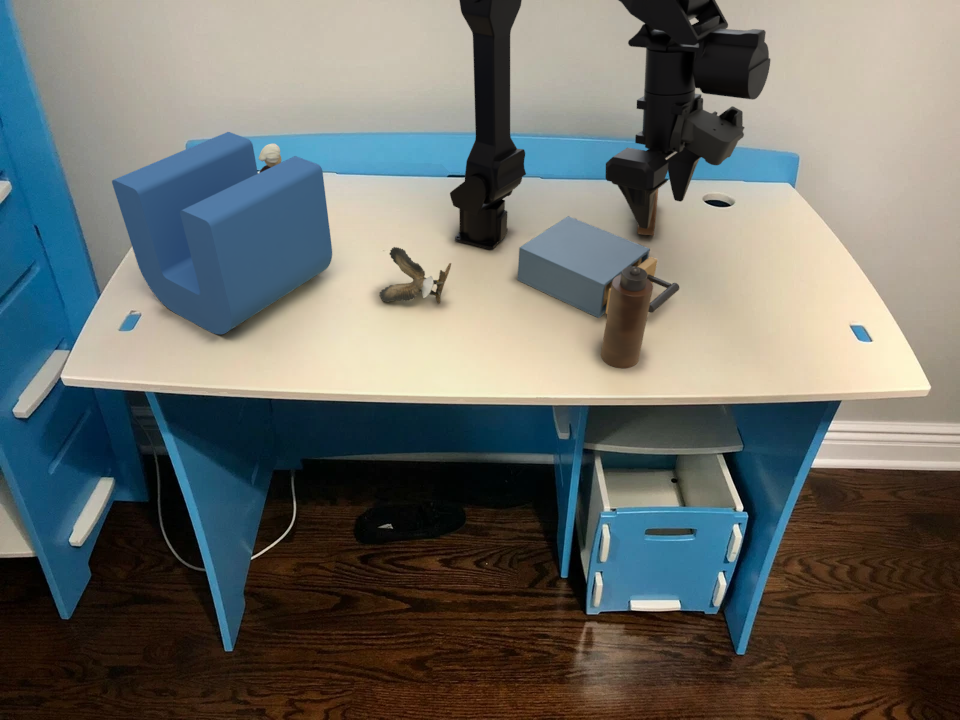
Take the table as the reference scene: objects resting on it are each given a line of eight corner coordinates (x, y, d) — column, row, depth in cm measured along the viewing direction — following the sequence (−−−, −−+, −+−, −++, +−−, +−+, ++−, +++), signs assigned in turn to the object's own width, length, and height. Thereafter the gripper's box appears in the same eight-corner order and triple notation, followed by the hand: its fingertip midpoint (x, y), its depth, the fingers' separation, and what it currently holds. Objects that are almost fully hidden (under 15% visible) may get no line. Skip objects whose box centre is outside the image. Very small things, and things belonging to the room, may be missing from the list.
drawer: (683, 295, 106) (688, 271, 103) (643, 331, 100) (648, 306, 97) (576, 250, 115) (579, 227, 112) (533, 280, 108) (535, 256, 106)
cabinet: (644, 281, 110) (650, 248, 106) (598, 318, 103) (603, 284, 99) (564, 247, 117) (568, 215, 113) (517, 280, 110) (519, 247, 106)
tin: (652, 245, 118) (662, 196, 112) (632, 243, 118) (640, 194, 113) (655, 200, 129) (664, 154, 124) (636, 198, 129) (644, 152, 124)
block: (336, 283, 108) (321, 165, 97) (238, 347, 97) (209, 222, 85) (248, 244, 116) (225, 130, 104) (148, 299, 104) (110, 178, 93)
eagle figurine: (451, 274, 108) (391, 256, 109) (452, 254, 101) (388, 234, 102) (435, 322, 106) (374, 304, 106) (435, 305, 99) (369, 285, 100)
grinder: (596, 362, 96) (609, 272, 87) (607, 340, 99) (621, 252, 91) (633, 372, 94) (650, 282, 86) (642, 350, 98) (660, 262, 89)
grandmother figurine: (308, 221, 121) (297, 146, 113) (291, 231, 119) (279, 155, 111) (273, 208, 125) (260, 133, 116) (256, 217, 122) (241, 142, 114)
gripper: (698, 122, 77) (687, 259, 86) (770, 74, 88) (753, 199, 97) (603, 108, 83) (602, 237, 92) (682, 65, 94) (673, 183, 103)
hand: (661, 213), depth 96 cm, fingers open, 9 cm apart
